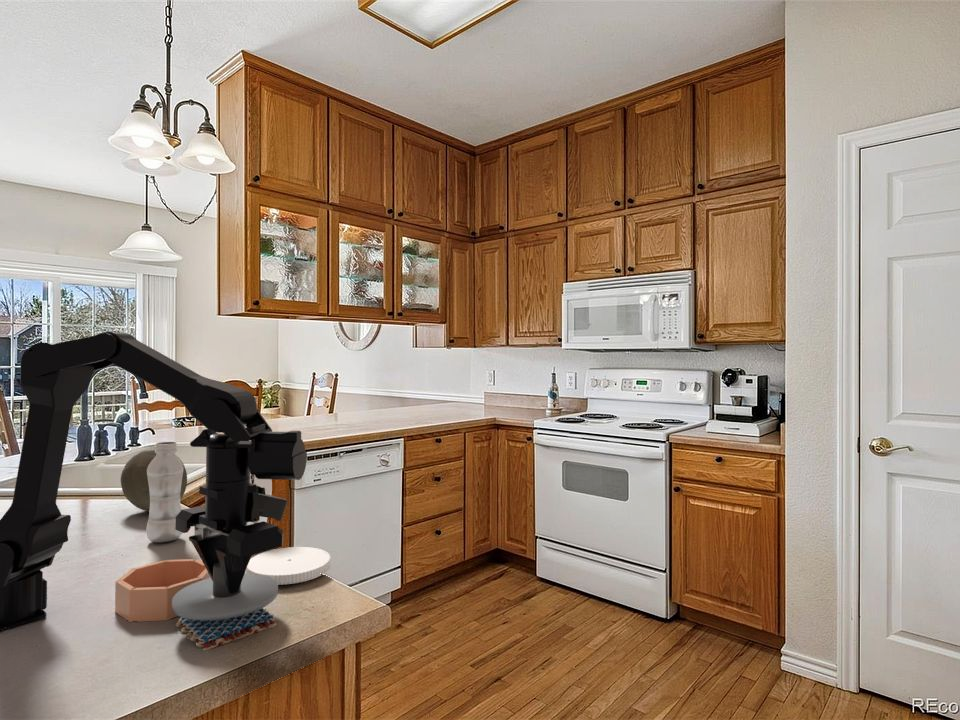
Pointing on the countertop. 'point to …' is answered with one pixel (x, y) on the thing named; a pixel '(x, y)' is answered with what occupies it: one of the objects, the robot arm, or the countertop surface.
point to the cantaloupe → (142, 480)
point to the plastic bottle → (164, 493)
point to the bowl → (155, 588)
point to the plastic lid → (290, 564)
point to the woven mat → (225, 628)
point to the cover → (224, 597)
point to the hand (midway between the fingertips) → (226, 588)
